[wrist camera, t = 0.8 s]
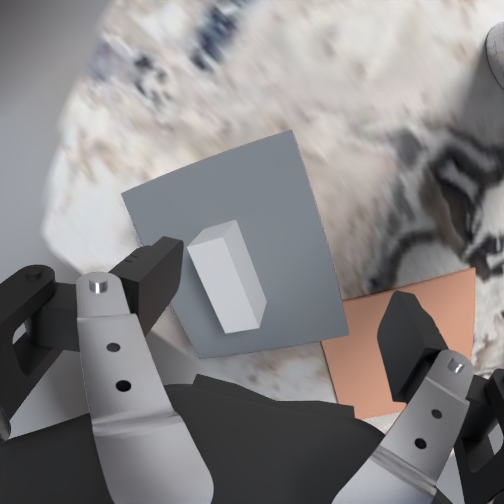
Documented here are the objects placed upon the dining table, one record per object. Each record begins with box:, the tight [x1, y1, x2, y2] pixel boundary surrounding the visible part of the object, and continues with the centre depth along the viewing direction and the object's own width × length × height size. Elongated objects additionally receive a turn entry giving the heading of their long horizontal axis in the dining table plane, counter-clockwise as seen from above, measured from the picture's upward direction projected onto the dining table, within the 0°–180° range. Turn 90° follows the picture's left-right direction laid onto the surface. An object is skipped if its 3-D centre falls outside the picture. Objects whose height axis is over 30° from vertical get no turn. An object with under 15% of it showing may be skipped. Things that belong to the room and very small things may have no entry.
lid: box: [121, 130, 349, 359], centre depth 27 cm, size 16×19×6 cm
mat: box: [321, 267, 475, 420], centre depth 37 cm, size 20×22×1 cm
